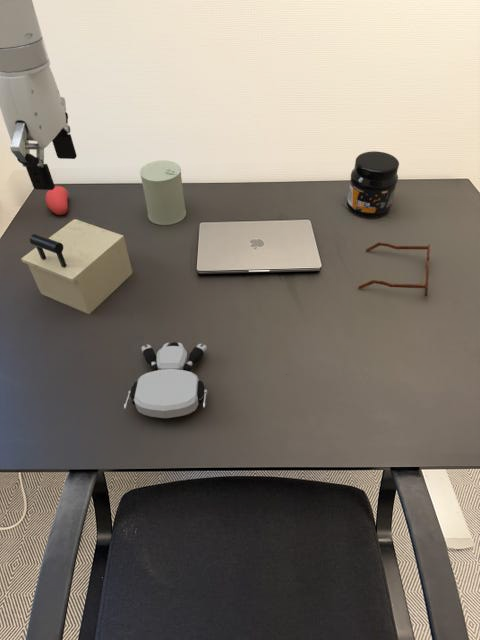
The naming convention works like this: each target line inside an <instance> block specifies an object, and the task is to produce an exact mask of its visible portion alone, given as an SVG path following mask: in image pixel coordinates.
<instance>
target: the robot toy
mask: <svg viewBox="0 0 480 640" xmlns="http://www.w3.org/2000/svg"><path fill="white" fill-rule="evenodd" d="M145 346H146V347H145ZM207 348H208V346H207V345H206V344H203V343H198V344H197V345H196V346H194V347H193V348H192V349H191V351H190V353H189V355H188V351H187V349H186V348H185V347H184V345H183V343H181V342H179V341H177V342H176V341H173V342H171V343H170V342H166V343H164V344H163V346H162V347H161V348H160V349H159V350H158V351H157V352H155V350H154V349H153V346H152V345H150V344H146V345H143V346H141V352H142V356H143V357H144V361H145V362H146V363H147V364H148V365H150V370H151V371H149V372H146V373H144V374H142V375H140V376H139V378H138V379H137V381H135V382H134V383H133V385H132V386H131V388H130V390H128V392H127V394H128V395H127V397H126V399H125V403H124V404H123V408H124V409H127V406H128V402H129V400H130V401H131V404H132V405H133V406H135V408H136V410H137V412H139V413H140V414H142V415H144V416H147V417H151V418H159V419H172V418H177V417H183V416H187V415H190V414H191V413H193V412H195V411H196V410H197V409H198V406H199V405H201V404H202V408H206V399H207V395H208V389H205V388H206V387H205V384H204V382H203V381H202V380H200V379H199V377H198V375H197V374H196V373H194V372H192V366H193V365H196V364H198V363H199V362H200V361H201V360H202V358H203V357H204V355H205V354H204V353H205V352H206V351H207Z"/></svg>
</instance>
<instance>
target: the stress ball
mask: <svg viewBox="0 0 480 640" xmlns="http://www.w3.org/2000/svg"><path fill="white" fill-rule="evenodd" d="M68 198H69V192H68V190H67V189H66V188H65V187H63V186H60V185H55V188H54V189H53V190H47V192H46V194H45V203H46V206H47V207H48V209H49V210H50V211H51V212H52V213H53V214H55V215H56V216H57V215H58V216H64V215H65V214H66V213H67V212H68V207H69V204H68V203H69V202H68V200H69V199H68Z"/></svg>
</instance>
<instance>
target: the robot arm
mask: <svg viewBox="0 0 480 640" xmlns="http://www.w3.org/2000/svg"><path fill="white" fill-rule="evenodd" d="M50 65H51V62H50V57H49V54H48V50H47V48H46V44H45V41H44V37H43V34H42V31H41V27H40V24H39V20H38V16H37V13H36V9H35V6H34V3H33V0H0V111H1V114H2V118H3V121H4V125H5V127H6V131H7V134H8V136H9V139H10V141H11V143H10V152H11V153H12V154H13V155H14V156H15V157H16V159H17V162H18V163H20V164H21V165H22V167H23V168H25V169H26V171H27V174H28V176H29V179H30V182H31V184H32V187H33V189H34V190H38V191H39V190H41V191H42V190H43V191H48V190H53V189H54V188H55V186H56V185H55V183H54V180H53V176H52V174H51V171H50V168H49V165H48V163H45V149H46V148H47V147H48V146H49V145H50V144H51V143H52V145H53V148H54V151H55V154H56V157H57V159H61V160H62V159H63V160H76V158H77V152H76V148H75V144H74V141H73V138H72V134H71V127H70V125H69V124H68V123H69V114H68V112H67V106H66V103H67V102H66V99H65V97H63V96H61V94H60V90H59V88H58V84H57V82H56V79H55V76H54V74H53V72H52V70H51V67H50ZM29 141H30V142H29ZM31 142H33V143H31ZM34 142H37V143H34ZM30 150H33V151H35V150H36V153H35V155H36V156H35V155H33V154H31V153H30V152H31V151H30Z"/></svg>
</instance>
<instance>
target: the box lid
mask: <svg viewBox="0 0 480 640" xmlns="http://www.w3.org/2000/svg"><path fill="white" fill-rule="evenodd" d="M123 240H125V236H124V235H123V234H120V233H117V232H114V231H112V230H109V229H105V228H103V227H99V226H96V225H94V224H90V223H88V222H84V221H82V220H80V219H76V218H74V219H72V220H71V221H69V222H68V223H67V224H66V225H64V226H63V227H62V228H60V229H59V230H57V231H56V232H54V233H53V234H52V235H51V236H49V237H47V236H43V235H40V234H39V233H33V234H31V235H30V237H29V243H30V244H31V245H33V246H35V248H33V249H32V250H30V251H29V252H28V253H26V254H25V255H24V256H23V257H21V258H20V260H21V262H22V263H24V264H27V265H28V264H29V265H31V266H34V267H36V268H39V269H41V270H44V271H46V272H49V273H51V274H54V275H56V276H59V277H61V278H64V279H66V280H69V281H71V282H75V281H76V280H77V279H78V278H79V277H81V276H82V275H83V274H84V273H85V272H86V271H88V270H89V269H90V268H91V267H92V266H93V265H95V264H96V263H97V262H98V261H99V260H100V259H102V258H103V257H104V256H105V255H106V254H107V253H109V252H110V251H111V250H112V249H113V248H114V247H116V246H117V245H118V244H119V243H120V242H121V241H123Z"/></svg>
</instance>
